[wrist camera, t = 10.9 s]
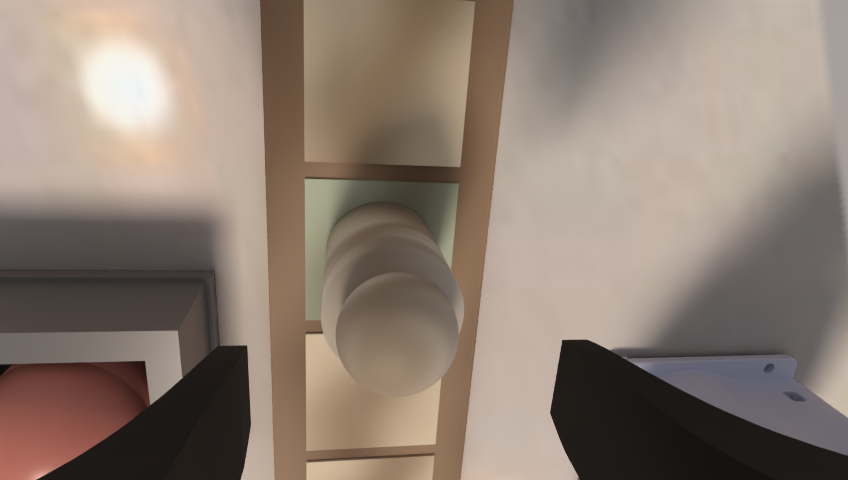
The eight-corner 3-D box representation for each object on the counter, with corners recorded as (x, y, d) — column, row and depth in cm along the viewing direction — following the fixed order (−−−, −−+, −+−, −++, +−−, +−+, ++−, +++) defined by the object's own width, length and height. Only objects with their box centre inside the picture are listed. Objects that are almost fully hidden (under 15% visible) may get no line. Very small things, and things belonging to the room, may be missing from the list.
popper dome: (166, 319, 19) (111, 407, 14) (178, 435, 21) (132, 547, 16) (9, 321, 18) (-102, 414, 14) (35, 441, 20) (-58, 562, 15)
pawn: (438, 203, 19) (496, 287, 12) (430, 304, 21) (478, 434, 13) (326, 199, 19) (317, 286, 12) (324, 304, 20) (316, 440, 13)
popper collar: (214, 270, 20) (184, 324, 16) (225, 449, 22) (202, 532, 18) (-32, 270, 18) (-130, 328, 14) (11, 459, 21) (-62, 551, 17)
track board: (508, -4, 18) (515, -6, 17) (449, 540, 26) (452, 552, 25) (261, -26, 17) (258, -29, 16) (278, 553, 25) (277, 567, 24)
